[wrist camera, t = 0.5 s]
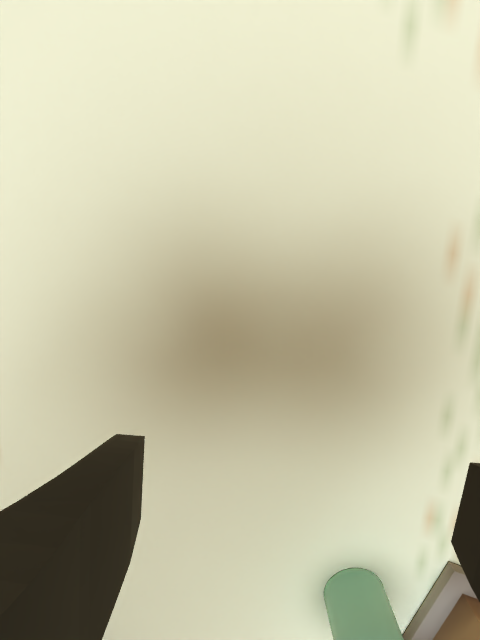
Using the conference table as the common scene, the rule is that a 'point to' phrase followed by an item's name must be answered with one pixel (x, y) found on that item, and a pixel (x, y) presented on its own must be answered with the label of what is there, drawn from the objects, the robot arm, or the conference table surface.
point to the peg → (359, 607)
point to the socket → (447, 610)
